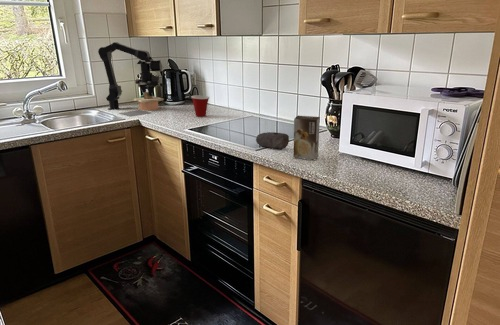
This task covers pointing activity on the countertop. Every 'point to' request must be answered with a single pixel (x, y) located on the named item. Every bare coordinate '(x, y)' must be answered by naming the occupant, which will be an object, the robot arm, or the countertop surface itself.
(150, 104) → the bowl
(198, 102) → the plastic cup
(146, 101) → the lid
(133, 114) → the mat
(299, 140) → the coffee box
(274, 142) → the perforated stone tool
